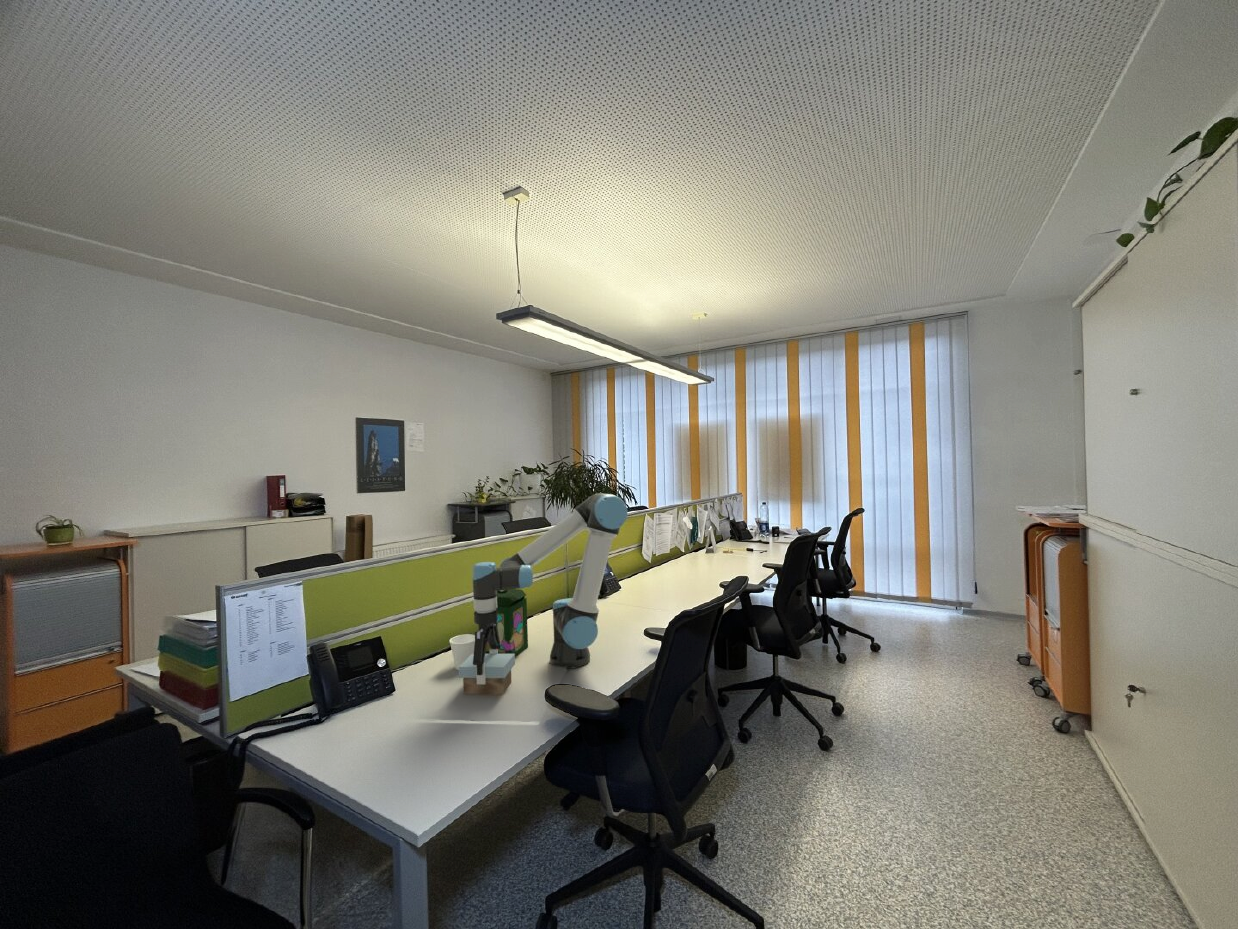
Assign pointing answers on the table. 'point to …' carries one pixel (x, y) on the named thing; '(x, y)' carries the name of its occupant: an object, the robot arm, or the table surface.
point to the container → (511, 622)
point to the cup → (462, 648)
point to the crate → (487, 685)
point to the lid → (488, 666)
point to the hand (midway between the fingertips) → (488, 676)
